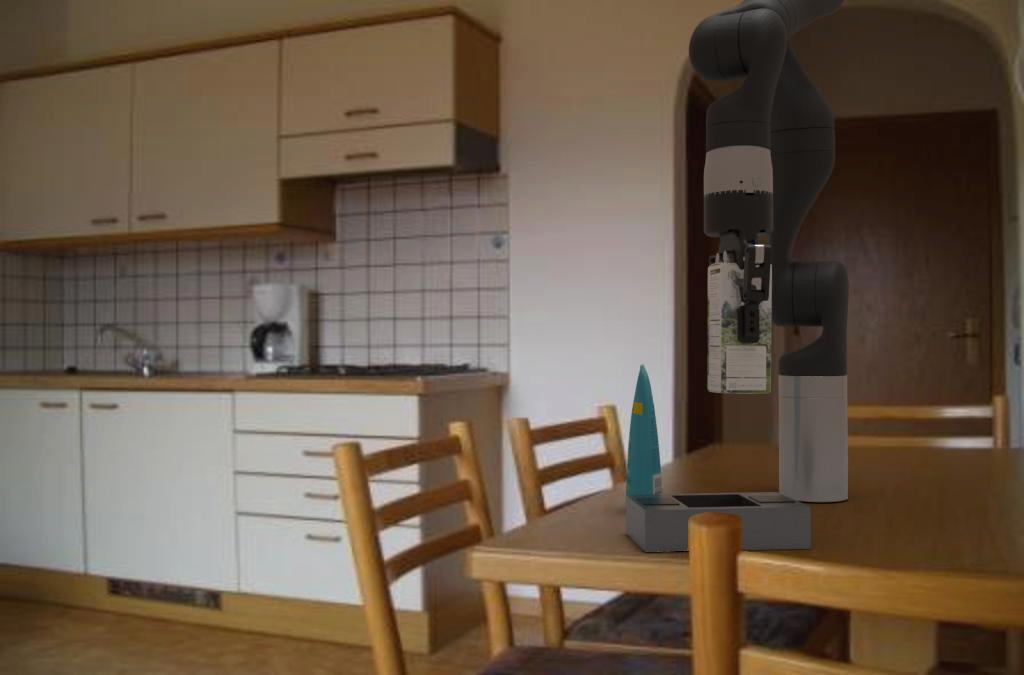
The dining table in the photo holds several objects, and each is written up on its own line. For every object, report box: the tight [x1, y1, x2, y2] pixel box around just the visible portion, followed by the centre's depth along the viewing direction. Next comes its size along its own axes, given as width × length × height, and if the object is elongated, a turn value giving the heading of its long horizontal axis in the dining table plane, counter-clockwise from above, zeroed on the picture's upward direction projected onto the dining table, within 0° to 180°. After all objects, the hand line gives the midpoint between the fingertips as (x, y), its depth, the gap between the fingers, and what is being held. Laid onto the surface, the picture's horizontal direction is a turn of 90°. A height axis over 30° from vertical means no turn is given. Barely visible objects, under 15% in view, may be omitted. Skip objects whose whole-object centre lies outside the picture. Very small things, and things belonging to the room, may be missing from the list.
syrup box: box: [706, 262, 772, 395], centre depth 108 cm, size 6×6×14 cm
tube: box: [625, 363, 663, 496], centre depth 127 cm, size 7×5×19 cm, turn 175°
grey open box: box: [625, 491, 812, 553], centre depth 108 cm, size 10×18×5 cm, turn 95°
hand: (738, 342), depth 108 cm, fingers closed on syrup box, 6 cm apart
